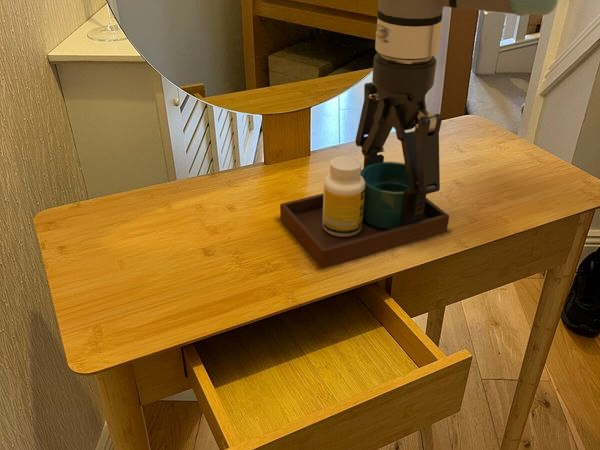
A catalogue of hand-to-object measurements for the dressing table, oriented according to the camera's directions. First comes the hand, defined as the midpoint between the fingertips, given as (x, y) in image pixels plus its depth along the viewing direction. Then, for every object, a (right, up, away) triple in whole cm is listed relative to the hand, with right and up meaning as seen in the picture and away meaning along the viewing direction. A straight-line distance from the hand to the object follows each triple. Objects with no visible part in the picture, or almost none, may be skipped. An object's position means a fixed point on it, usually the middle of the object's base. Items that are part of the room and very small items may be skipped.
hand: (389, 213), depth 87 cm
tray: (-4, -2, -1) cm, 4 cm away
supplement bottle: (-7, -2, -3) cm, 8 cm away
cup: (0, 0, 0) cm, 0 cm away
